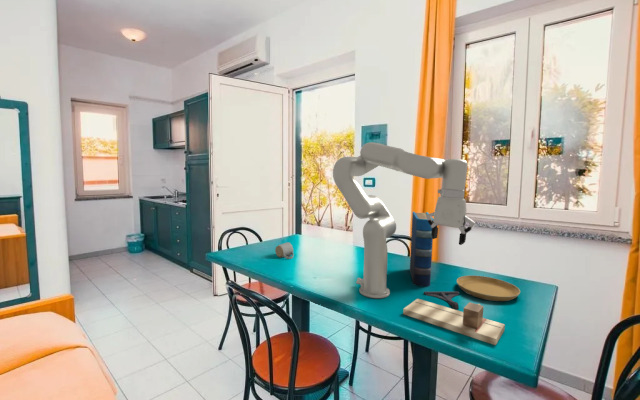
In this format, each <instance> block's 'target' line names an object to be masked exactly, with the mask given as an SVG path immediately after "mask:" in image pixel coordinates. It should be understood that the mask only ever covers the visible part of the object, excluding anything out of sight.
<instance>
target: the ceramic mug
mask: <svg viewBox="0 0 640 400" xmlns="http://www.w3.org/2000/svg"><path fill="white" fill-rule="evenodd" d="M293 247H294V246H293V245H292V244H291V242H287V241H286V242H285V243H281V244H278V245H277V246H276V247H275V252H274V253H275V254H276V256H277V257H278V258H285V259H287V260H291V259H293V258H294V255H295V254H294V248H293Z"/></svg>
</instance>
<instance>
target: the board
mask: <svg viewBox="0 0 640 400" xmlns="http://www.w3.org/2000/svg"><path fill="white" fill-rule="evenodd" d="M402 309H403V311H402V312H403V313H402V314H403V315H404V316H406V317H407V316H408V317H411V318H414V319H415V320H416V319H417V320H420V321H422V322H425V323H428V324H430V325H431V324H432V325H434V326H436V327H440V328H443V329H445V330H448V331H452V332H455V333H458V334H461V335H464V336H467V337H471V338H472V339H475V340H479V341H482V342H485V343H487V344H491V345H493V346H496V345H497V344H498V342H499V340H500V339H501V337H502V335H503V334H504V333H505V328H506V325H505V324H504V323H501V322H498V321H494V320H491V319H488V318H485V317H483V321H482V323H481V325H480V326H479V327H478V329H476V328H473V327H470V326H467V325H463V311H460V310H459V309H454V308H451V307H447V306H445V305H441V304H437V303H434V302H430V301H427V300H424V299H420V298H416V299H415V300H413V301H412V302H411V303H409V304H408V305H406V306H405V307H404V308H402Z"/></svg>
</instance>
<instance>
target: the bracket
mask: <svg viewBox="0 0 640 400" xmlns="http://www.w3.org/2000/svg"><path fill="white" fill-rule="evenodd" d="M423 294H424V295H425V296H429V297H433V298H437V299H441V300H443V301H445V302H447V303H448V304H449V305H450V306H451V307H452V309H454V310H459V303H458V302H456V301H454V300H452V299H453V298H455V297H457V296H459V295H460V291H423Z"/></svg>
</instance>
